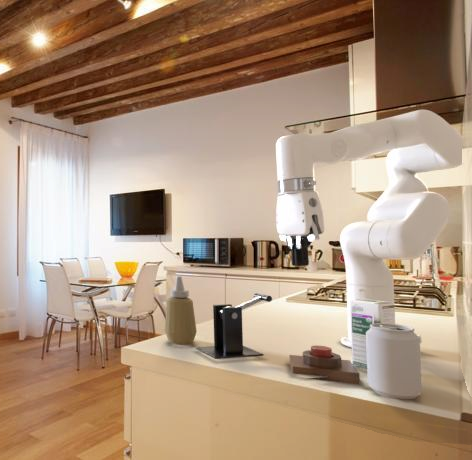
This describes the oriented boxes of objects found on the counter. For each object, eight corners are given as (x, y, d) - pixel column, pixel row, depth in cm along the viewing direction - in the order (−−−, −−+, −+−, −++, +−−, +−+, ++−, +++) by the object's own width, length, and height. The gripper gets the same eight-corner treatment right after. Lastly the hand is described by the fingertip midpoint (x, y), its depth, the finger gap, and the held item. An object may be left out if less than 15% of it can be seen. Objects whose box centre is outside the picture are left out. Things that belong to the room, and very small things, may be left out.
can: (433, 402, 69) (430, 330, 69) (382, 400, 71) (379, 329, 71) (404, 386, 76) (402, 321, 77) (359, 384, 78) (356, 321, 78)
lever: (260, 299, 103) (256, 290, 103) (273, 302, 98) (270, 293, 98) (218, 318, 101) (214, 309, 101) (230, 322, 96) (226, 313, 96)
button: (330, 354, 85) (330, 346, 85) (333, 359, 82) (333, 350, 82) (310, 353, 87) (309, 344, 87) (312, 357, 84) (311, 348, 84)
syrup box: (350, 368, 88) (348, 299, 88) (367, 364, 90) (365, 297, 90) (380, 376, 82) (378, 303, 83) (398, 372, 85) (395, 301, 85)
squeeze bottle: (159, 345, 109) (158, 277, 109) (172, 339, 115) (171, 274, 115) (189, 350, 104) (187, 278, 104) (201, 343, 110) (199, 276, 110)
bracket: (240, 349, 104) (238, 302, 104) (263, 359, 95) (262, 308, 95) (195, 352, 102) (194, 304, 102) (215, 362, 93) (214, 310, 93)
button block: (350, 370, 86) (349, 351, 86) (360, 385, 78) (359, 363, 78) (289, 364, 91) (288, 346, 91) (292, 377, 83) (292, 357, 83)
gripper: (336, 183, 91) (341, 266, 91) (286, 191, 105) (290, 262, 105) (307, 184, 89) (311, 268, 89) (260, 191, 104) (264, 264, 104)
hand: (300, 265), depth 97 cm, fingers closed
